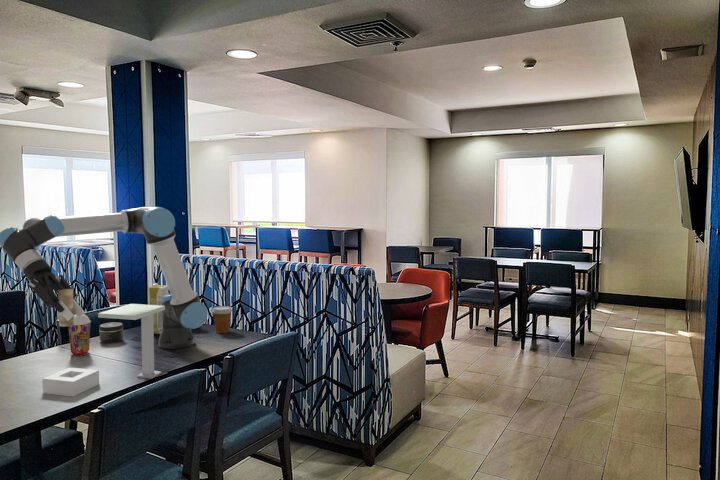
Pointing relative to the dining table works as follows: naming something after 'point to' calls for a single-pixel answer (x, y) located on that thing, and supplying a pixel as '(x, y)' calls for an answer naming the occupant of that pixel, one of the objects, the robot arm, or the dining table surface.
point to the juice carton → (156, 299)
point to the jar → (111, 332)
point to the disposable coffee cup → (222, 318)
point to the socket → (70, 381)
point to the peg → (67, 299)
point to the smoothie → (80, 335)
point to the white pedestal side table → (146, 331)
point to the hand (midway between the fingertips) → (76, 316)
